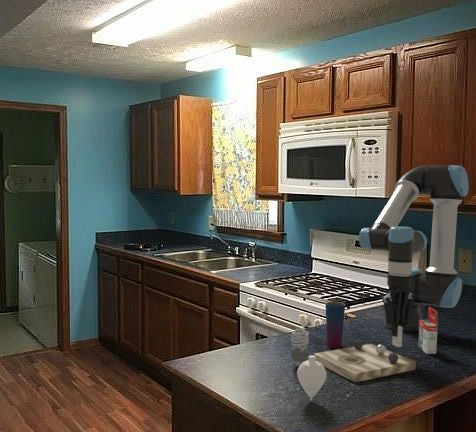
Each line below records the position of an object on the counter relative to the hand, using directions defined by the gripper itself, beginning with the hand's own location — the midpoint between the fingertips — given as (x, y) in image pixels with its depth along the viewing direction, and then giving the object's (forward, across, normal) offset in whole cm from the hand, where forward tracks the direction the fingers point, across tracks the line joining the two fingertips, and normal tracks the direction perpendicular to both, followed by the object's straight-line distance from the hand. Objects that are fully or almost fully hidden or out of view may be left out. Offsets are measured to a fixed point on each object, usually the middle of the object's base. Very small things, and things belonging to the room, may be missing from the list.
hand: (396, 345), depth 175 cm
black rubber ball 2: (+1, +9, +7) cm, 12 cm away
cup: (+5, +10, -20) cm, 23 cm away
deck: (+5, +14, 0) cm, 15 cm away
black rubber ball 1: (+1, +10, -8) cm, 12 cm away
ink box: (+5, -16, -2) cm, 17 cm away
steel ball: (0, +7, 0) cm, 7 cm away
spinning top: (+5, +45, +15) cm, 47 cm away
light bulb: (+5, +33, -8) cm, 34 cm away
